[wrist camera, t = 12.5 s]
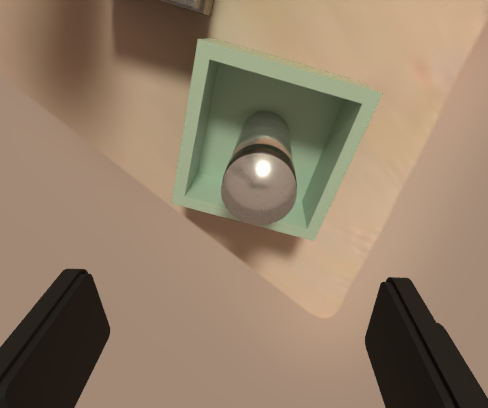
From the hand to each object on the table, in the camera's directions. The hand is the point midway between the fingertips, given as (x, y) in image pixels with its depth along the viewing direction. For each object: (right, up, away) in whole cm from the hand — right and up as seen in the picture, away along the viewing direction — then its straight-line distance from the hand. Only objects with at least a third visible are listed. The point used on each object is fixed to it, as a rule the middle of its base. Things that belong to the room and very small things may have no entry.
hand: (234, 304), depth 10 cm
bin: (+2, +10, +19) cm, 21 cm away
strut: (+2, +10, +18) cm, 21 cm away
